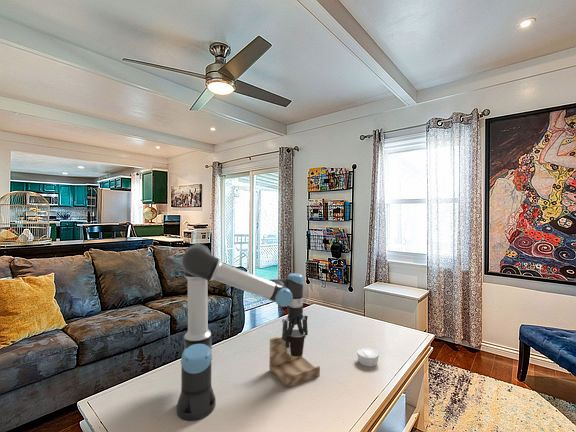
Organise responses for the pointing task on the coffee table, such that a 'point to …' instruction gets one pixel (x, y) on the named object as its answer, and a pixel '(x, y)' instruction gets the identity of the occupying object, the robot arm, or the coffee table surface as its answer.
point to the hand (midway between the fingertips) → (294, 351)
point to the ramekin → (368, 356)
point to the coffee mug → (296, 342)
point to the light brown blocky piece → (289, 365)
